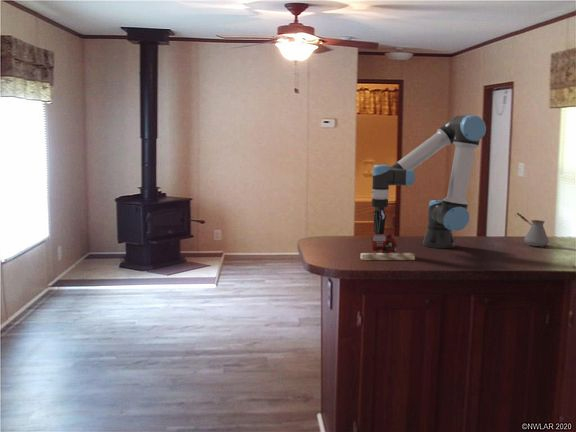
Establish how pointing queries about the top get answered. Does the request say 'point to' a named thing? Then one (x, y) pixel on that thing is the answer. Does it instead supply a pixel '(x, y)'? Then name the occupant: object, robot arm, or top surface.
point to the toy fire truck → (383, 243)
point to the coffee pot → (535, 233)
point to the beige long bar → (387, 256)
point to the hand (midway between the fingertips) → (378, 248)
